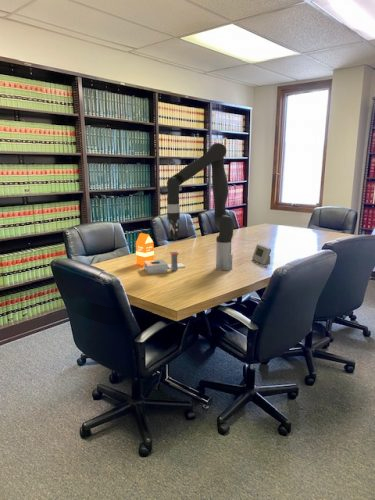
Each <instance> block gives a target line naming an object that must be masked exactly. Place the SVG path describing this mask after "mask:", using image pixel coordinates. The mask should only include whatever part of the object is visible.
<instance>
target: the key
mask: <svg viewBox="0 0 375 500" xmlns="http://www.w3.org/2000/svg"><path fill="white" fill-rule="evenodd" d="M169 254H170V262H171V263H170V264H171V269H170V270H171V271H172V272H178V268H177V263H178V256H179V252H177V251H170V252H169Z"/></svg>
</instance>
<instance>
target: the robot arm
mask: <svg viewBox="0 0 375 500" xmlns="http://www.w3.org/2000/svg"><path fill="white" fill-rule="evenodd" d="M226 154H227V148H226V145H225V144H224V143H221V142H214V143H213V144H211V145H210V146H209V150H207V152H205V153H204V154H203V155H202V156H201V157H199V158H197V159H196V160H194V161H192V162H190V163H189V164H187V165H186V166H185V167H183V168H181V170H180V171H179V172H177V173H175V174H174V175H172V176H171V177H169V178H168V179H167V182H166V190H167V198H166V202H167V206H166V210H167V211H166V218H167V221H168V230H169V237H170V238H173V240H174V241H177V240H178V239H179V238H178V237H179V236H178V235H179V233H180V223H179V222H178V221H180V220H181V214H180V213H181V208H180V207H181V206H180V196H179V195H180V194H179V193H180V186H181V185H182V184H183V183H185V182H187V181H189V180H190V179H192V178H193V177H195V176H196V175H197V174H198V173H200V172H201V171H202V170H204V169H205V168H207V167H208V166H211V183H212V185H211V187H212V197H213V205H214V206H213V207H214V209H213V210H214V215H213V217H214V219H213V220H214V221H213V222H214V225H215V227H216V228H217V229H218V230H219V233H218V235H217V236H216V239H215V240H216V243H215V244H216V246H215V247H216V248H215V249H216V250H215V251H216V252H215V253H216V254H215V255H216V256H215V268H216V270H218V271H229V270H232V269H233V253H232V241H233V237H234V220H233V218H232V217H231V216H229V215H227V211H226V204H227V200H228V197H229V182H228V177H227V173H226V170H225V156H226Z"/></svg>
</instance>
